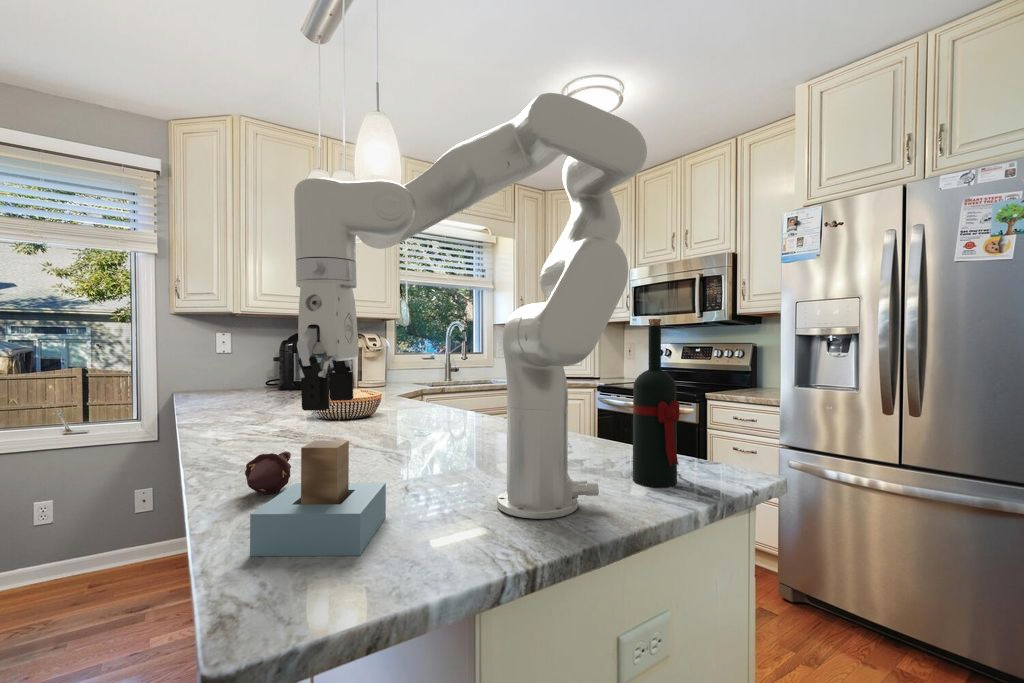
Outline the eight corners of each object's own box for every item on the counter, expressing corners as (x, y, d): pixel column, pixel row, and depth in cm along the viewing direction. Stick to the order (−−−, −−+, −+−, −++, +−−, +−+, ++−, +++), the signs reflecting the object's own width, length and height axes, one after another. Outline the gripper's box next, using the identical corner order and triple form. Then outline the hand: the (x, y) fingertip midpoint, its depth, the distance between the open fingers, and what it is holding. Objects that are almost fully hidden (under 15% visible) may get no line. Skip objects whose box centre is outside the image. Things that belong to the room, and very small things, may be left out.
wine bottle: (654, 493, 83) (654, 316, 83) (624, 477, 93) (625, 319, 93) (694, 489, 85) (694, 317, 85) (661, 474, 95) (661, 320, 95)
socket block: (385, 517, 71) (385, 482, 71) (360, 555, 58) (360, 513, 58) (295, 517, 71) (295, 483, 71) (249, 556, 58) (250, 514, 58)
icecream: (279, 465, 76) (310, 452, 91) (231, 453, 76) (270, 443, 91) (265, 509, 75) (299, 489, 90) (217, 498, 75) (259, 480, 90)
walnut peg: (348, 528, 67) (348, 440, 67) (336, 541, 63) (337, 447, 63) (314, 528, 67) (315, 440, 67) (300, 541, 63) (301, 447, 63)
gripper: (333, 265, 56) (336, 414, 57) (372, 283, 74) (374, 396, 74) (267, 266, 56) (270, 415, 56) (321, 284, 74) (324, 397, 74)
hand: (329, 404), depth 65 cm, fingers open, 9 cm apart
